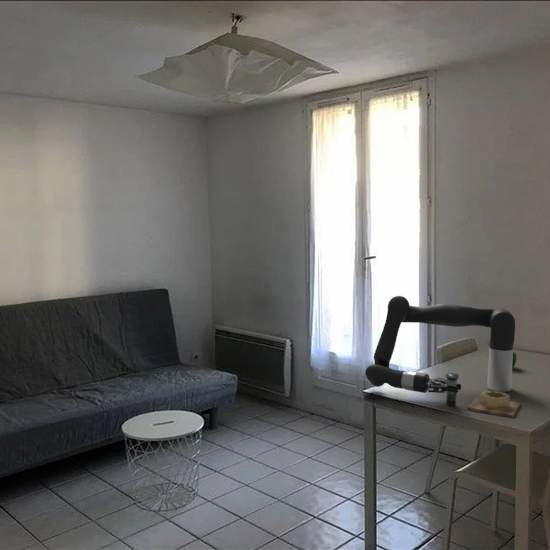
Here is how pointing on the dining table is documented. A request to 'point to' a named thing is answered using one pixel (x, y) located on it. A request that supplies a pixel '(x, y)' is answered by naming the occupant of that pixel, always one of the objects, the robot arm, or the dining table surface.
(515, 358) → the bell pepper
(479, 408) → the nut base
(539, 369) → the dining table surface
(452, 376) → the steel pin
